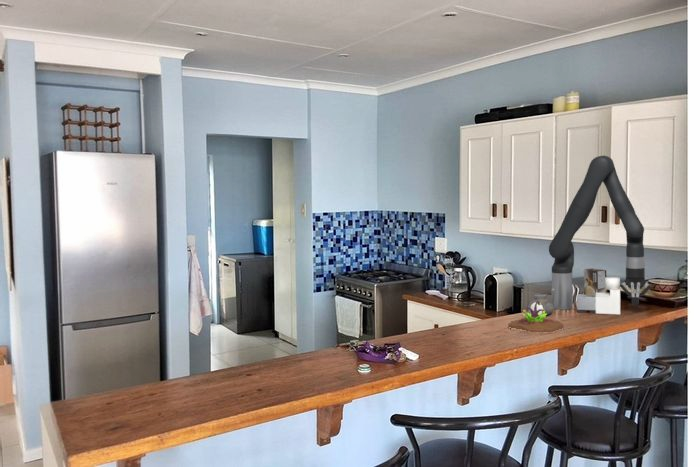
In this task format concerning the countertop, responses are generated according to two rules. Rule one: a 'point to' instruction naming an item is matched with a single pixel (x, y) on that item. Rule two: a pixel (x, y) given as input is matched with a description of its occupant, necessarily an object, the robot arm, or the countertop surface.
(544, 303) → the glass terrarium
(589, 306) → the duct stub
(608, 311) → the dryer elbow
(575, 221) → the robot arm
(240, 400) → the countertop surface
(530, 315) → the plant
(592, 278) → the coffee box
